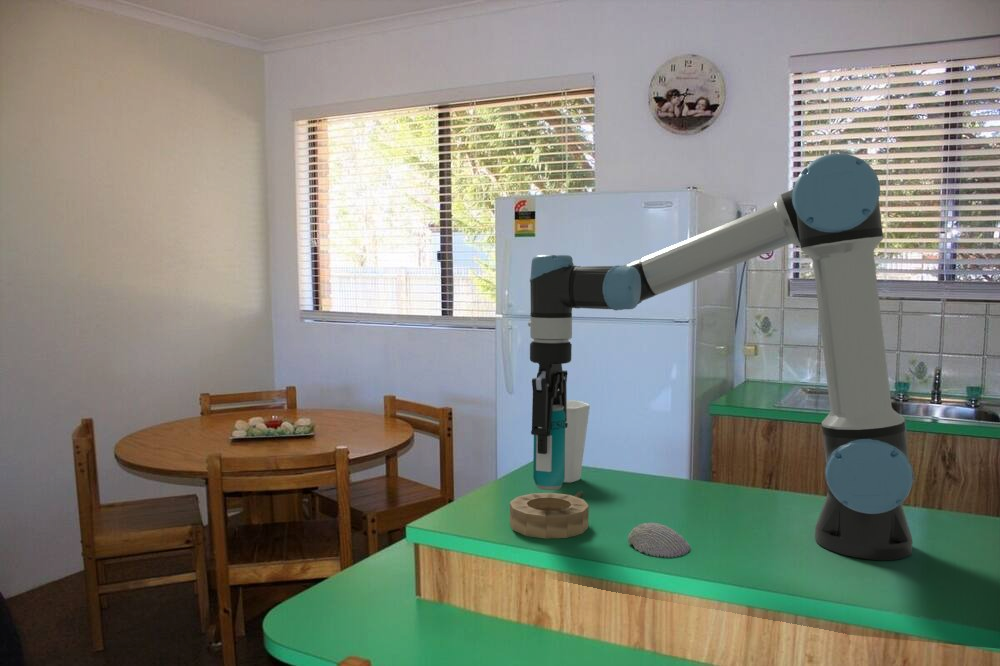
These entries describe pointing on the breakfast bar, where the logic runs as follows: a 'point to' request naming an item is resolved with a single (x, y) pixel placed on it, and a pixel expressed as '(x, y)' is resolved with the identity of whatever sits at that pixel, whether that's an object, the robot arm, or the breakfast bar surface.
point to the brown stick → (578, 495)
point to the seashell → (658, 540)
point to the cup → (575, 438)
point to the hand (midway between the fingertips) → (549, 466)
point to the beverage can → (553, 454)
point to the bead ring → (549, 515)
